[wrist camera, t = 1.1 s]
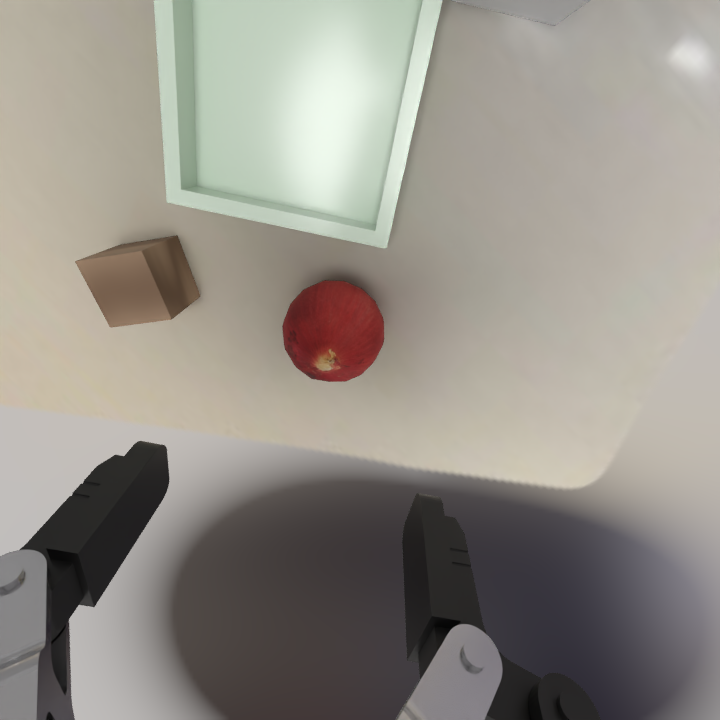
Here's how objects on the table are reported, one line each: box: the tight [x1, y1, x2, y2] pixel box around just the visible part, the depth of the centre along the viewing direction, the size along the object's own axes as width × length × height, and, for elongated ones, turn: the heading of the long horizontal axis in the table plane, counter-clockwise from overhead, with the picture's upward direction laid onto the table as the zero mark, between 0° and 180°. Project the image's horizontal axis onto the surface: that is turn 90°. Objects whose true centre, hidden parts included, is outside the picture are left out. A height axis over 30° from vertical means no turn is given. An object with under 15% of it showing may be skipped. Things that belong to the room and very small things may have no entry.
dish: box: [154, 0, 443, 249], centre depth 18 cm, size 12×12×2 cm
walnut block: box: [75, 236, 200, 327], centre depth 23 cm, size 4×4×4 cm
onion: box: [283, 280, 384, 382], centre depth 22 cm, size 6×6×8 cm
